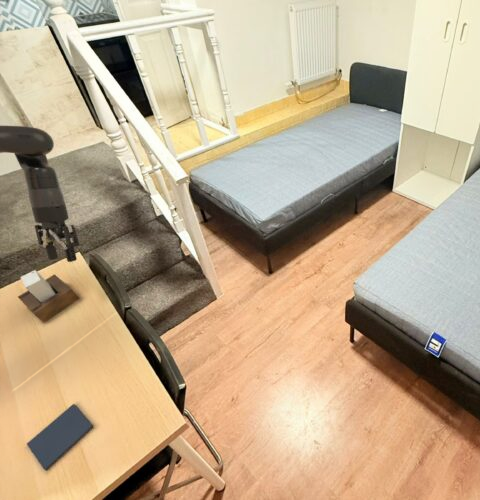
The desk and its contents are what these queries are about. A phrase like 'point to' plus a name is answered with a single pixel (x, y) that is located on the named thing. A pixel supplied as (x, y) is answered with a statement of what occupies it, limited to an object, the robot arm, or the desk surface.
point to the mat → (59, 436)
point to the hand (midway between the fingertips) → (62, 260)
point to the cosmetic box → (38, 286)
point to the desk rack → (50, 300)
